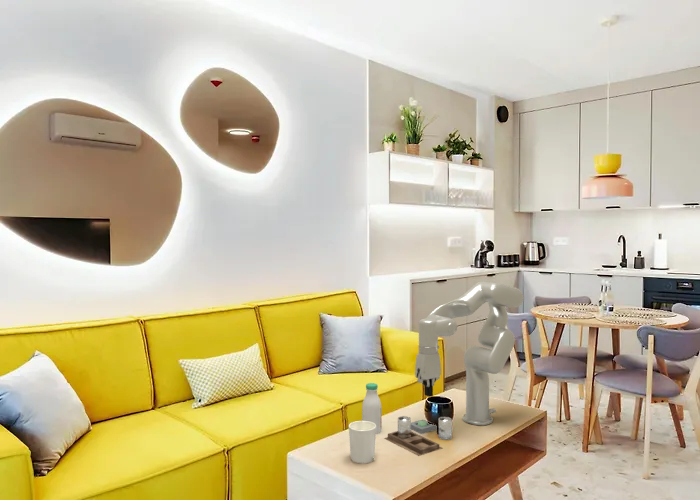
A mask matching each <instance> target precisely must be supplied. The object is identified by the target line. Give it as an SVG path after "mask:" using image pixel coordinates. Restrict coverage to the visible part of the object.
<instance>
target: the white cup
mask: <svg viewBox="0 0 700 500" xmlns="http://www.w3.org/2000/svg"><path fill="white" fill-rule="evenodd" d="M348 431H349V434H348V435H349V447H350V448H349V452H350V460H351V461H352V462H354V463H358V464H370V463H372V462H373V461H374V459H375V451H376V435H377V434H376V424H374V423H373V422H369V421H362V420H357V421H352V422H350V423H349V425H348Z"/></svg>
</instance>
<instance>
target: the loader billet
mask: <svg viewBox="0 0 700 500" xmlns="http://www.w3.org/2000/svg"><path fill="white" fill-rule="evenodd" d="M411 423H412V418H411V417H410V416H408V415H407V416H406V415H402V416H401V415H400V416H397V431H398V437H399V438H401V439H403V440H404V439H407V438H411V432H412V429H411Z"/></svg>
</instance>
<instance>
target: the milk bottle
mask: <svg viewBox="0 0 700 500" xmlns="http://www.w3.org/2000/svg"><path fill="white" fill-rule="evenodd" d="M365 390H366V393H365V396H364V398H363V401H362V412H361V415H362V417H361V421H369V422H373V423H374V424H376V435H378V434H381V433H382V426H383V425H382V403H381V399H380V397H379V394H378V384H377V383H374V382H369V383H366V385H365Z"/></svg>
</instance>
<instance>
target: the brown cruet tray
mask: <svg viewBox="0 0 700 500" xmlns="http://www.w3.org/2000/svg"><path fill="white" fill-rule="evenodd" d="M383 439H384V440H386V441H387V442H390V443H392V444H394V445H396V446H398V447H400V448H402V449H404V450H406V451H408V452H409V453H412V454H413V455H416V456H418V457H420V456H424V455H426V454H429V453H432V452H435V451H439V450H442V449H444V448H443V447H441V446H440V444H439V443H438V442H436V441H433V440H431V439H428V438H426V437H424V436H422V435H421V434H417V432H416V433H415V432H413V431H411V438H407V439H404V440H403V439H401V438H399V437H398V430H396V431H393V432H389V433H387V437H385V438H383Z"/></svg>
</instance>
